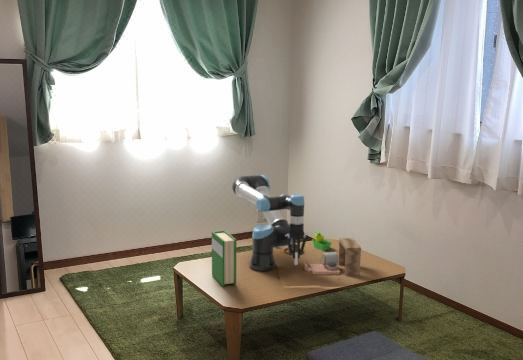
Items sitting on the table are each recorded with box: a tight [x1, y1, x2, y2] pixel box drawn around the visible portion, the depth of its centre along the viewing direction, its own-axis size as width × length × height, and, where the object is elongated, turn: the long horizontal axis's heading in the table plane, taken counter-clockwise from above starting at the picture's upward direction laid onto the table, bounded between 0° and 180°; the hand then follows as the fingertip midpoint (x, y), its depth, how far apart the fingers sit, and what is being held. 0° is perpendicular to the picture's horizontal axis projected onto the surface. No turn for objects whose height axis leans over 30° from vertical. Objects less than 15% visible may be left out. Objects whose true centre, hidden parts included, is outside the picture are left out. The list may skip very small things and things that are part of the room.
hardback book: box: [211, 230, 237, 287], centre depth 270 cm, size 18×7×24 cm, turn 23°
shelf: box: [337, 237, 362, 276], centre depth 288 cm, size 8×18×16 cm, turn 4°
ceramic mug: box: [320, 251, 339, 270], centre depth 288 cm, size 11×8×8 cm
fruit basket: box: [311, 232, 332, 252], centre depth 325 cm, size 11×9×11 cm
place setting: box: [283, 243, 304, 256], centre depth 322 cm, size 18×20×6 cm
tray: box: [303, 262, 341, 275], centre depth 288 cm, size 18×15×3 cm
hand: (295, 264), depth 286 cm, fingers closed
